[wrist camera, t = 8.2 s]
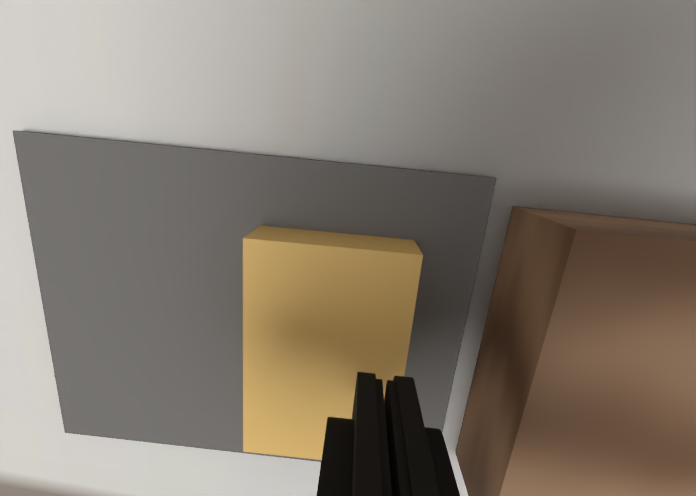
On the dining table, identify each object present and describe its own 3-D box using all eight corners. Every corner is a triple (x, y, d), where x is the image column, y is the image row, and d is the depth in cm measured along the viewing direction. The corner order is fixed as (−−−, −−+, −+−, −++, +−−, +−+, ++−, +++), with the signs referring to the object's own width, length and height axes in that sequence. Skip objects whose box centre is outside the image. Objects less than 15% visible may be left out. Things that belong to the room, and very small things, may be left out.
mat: (23, 131, 13) (12, 130, 13) (492, 177, 13) (496, 178, 12) (71, 426, 17) (64, 432, 16) (431, 467, 16) (433, 474, 16)
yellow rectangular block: (423, 254, 11) (414, 239, 13) (242, 238, 11) (260, 225, 13) (390, 467, 14) (386, 428, 15) (243, 451, 14) (257, 414, 16)
